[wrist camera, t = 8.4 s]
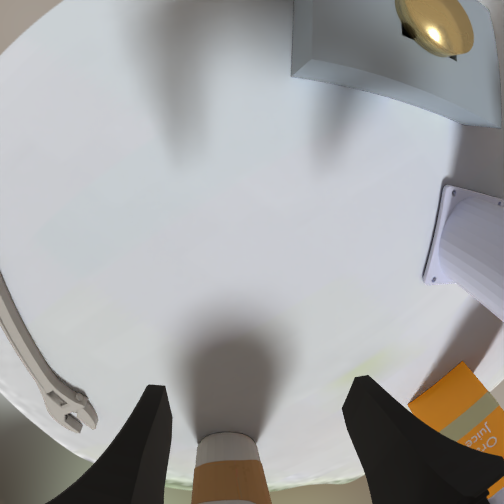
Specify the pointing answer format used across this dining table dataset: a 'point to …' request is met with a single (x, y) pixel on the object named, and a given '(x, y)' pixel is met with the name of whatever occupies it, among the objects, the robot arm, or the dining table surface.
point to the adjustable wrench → (44, 371)
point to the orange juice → (464, 413)
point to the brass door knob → (436, 25)
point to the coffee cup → (229, 471)
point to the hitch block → (397, 58)
